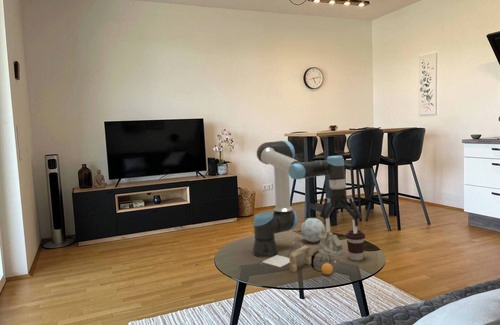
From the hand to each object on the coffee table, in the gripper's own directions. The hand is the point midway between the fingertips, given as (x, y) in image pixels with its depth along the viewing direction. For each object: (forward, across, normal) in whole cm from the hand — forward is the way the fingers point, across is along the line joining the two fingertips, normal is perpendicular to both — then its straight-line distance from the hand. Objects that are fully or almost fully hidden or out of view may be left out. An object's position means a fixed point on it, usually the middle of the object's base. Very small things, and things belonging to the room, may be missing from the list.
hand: (341, 232), depth 176 cm
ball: (+18, -9, -2) cm, 20 cm away
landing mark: (+19, -40, +2) cm, 44 cm away
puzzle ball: (+18, -39, +42) cm, 59 cm away
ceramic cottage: (+20, -20, +30) cm, 42 cm away
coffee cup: (+21, -4, +25) cm, 33 cm away
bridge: (+20, -25, 0) cm, 32 cm away
